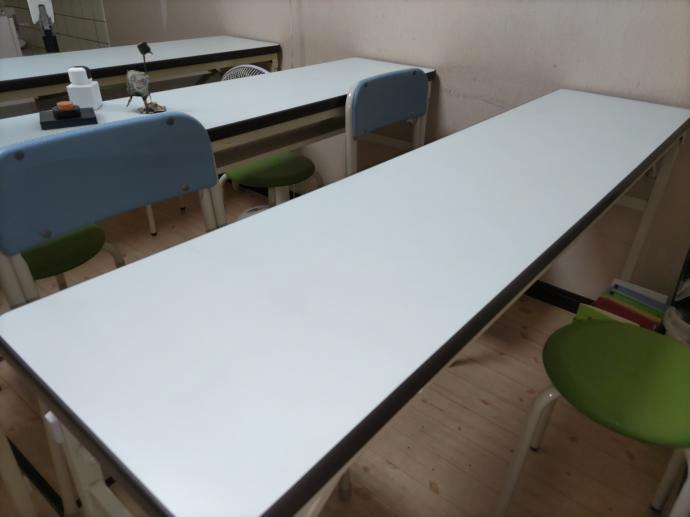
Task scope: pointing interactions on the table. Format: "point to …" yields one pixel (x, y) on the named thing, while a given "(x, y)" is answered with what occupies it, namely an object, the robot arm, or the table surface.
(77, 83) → the medicine bottle
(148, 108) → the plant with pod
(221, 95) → the table surface
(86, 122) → the button housing
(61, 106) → the release button
